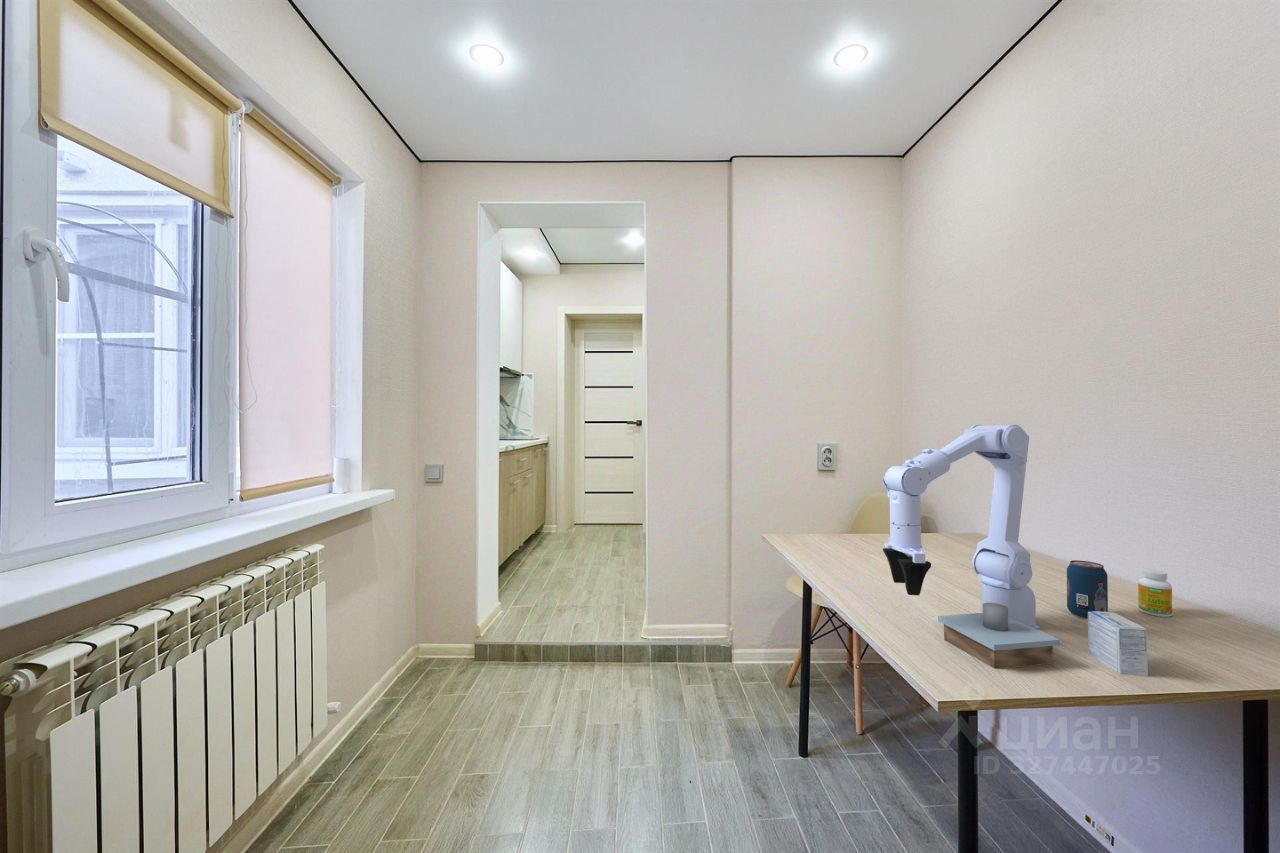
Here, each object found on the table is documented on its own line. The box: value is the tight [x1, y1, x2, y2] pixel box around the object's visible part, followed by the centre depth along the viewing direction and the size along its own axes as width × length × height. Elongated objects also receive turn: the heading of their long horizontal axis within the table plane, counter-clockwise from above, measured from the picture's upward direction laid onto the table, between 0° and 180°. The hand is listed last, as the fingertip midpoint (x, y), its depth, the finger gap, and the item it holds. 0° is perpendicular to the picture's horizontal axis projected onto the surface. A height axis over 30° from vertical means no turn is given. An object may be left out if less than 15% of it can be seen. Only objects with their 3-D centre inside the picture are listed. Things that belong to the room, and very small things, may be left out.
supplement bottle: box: [1137, 568, 1173, 618], centre depth 113 cm, size 5×5×10 cm
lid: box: [937, 603, 1061, 651], centre depth 94 cm, size 14×14×6 cm
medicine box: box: [1087, 611, 1149, 677], centre depth 89 cm, size 8×4×9 cm, turn 168°
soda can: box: [1066, 559, 1109, 621], centre depth 112 cm, size 7×7×12 cm
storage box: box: [943, 624, 1054, 670], centre depth 94 cm, size 12×12×4 cm
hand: (906, 588), depth 102 cm, fingers open, 7 cm apart
